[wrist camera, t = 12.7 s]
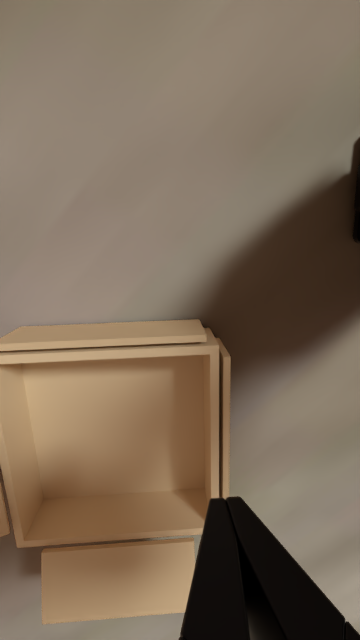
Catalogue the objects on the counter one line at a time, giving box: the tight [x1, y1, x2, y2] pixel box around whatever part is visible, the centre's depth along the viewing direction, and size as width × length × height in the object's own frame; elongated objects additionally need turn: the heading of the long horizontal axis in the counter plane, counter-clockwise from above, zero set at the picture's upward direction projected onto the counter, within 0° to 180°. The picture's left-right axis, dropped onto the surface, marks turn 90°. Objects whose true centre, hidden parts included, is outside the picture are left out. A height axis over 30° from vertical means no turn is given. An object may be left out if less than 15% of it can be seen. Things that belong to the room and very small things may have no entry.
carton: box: [0, 319, 231, 548], centre depth 20 cm, size 14×14×4 cm
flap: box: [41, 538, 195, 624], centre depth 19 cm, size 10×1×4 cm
